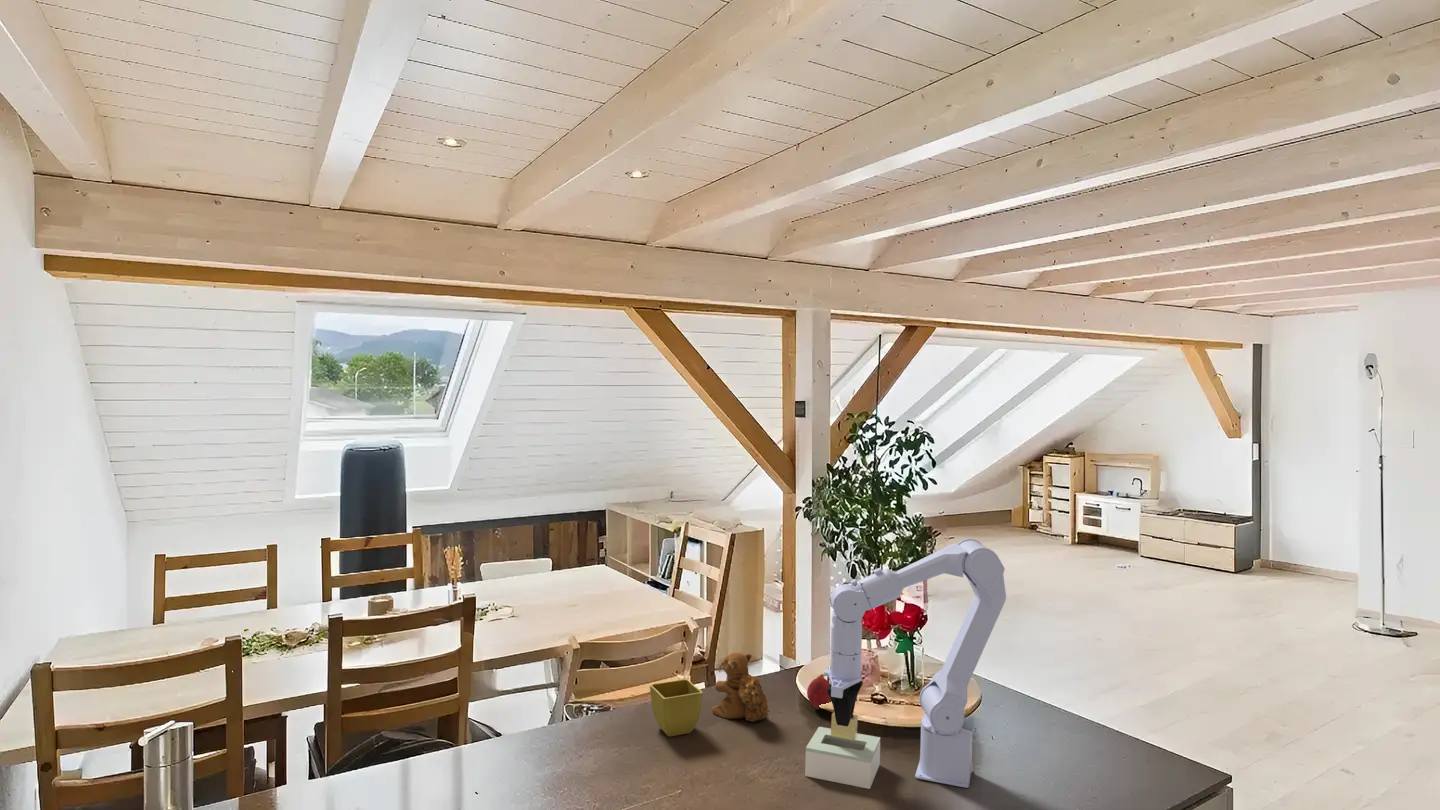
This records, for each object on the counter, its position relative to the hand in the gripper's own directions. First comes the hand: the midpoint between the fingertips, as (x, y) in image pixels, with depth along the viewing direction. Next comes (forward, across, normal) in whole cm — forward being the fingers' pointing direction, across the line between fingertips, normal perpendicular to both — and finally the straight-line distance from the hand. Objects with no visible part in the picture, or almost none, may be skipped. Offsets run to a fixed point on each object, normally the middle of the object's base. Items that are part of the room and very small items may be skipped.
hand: (844, 722), depth 151 cm
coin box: (+9, 0, 0) cm, 9 cm away
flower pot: (+9, -3, -36) cm, 37 cm away
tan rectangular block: (+3, 0, 0) cm, 3 cm away
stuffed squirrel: (+9, -16, -26) cm, 32 cm away
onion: (+9, -26, -11) cm, 30 cm away
